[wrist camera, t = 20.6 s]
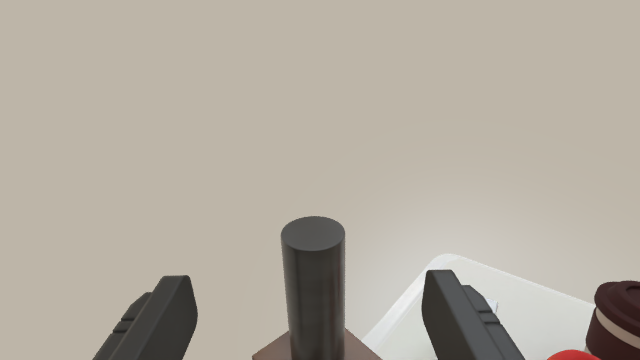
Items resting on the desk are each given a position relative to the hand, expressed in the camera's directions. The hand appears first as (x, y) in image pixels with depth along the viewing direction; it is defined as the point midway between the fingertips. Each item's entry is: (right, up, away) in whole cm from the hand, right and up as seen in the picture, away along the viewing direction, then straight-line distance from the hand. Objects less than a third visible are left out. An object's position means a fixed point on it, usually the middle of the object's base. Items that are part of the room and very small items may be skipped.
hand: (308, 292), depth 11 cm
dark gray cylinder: (0, -11, +16) cm, 19 cm away
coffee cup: (+44, -25, +36) cm, 62 cm away
